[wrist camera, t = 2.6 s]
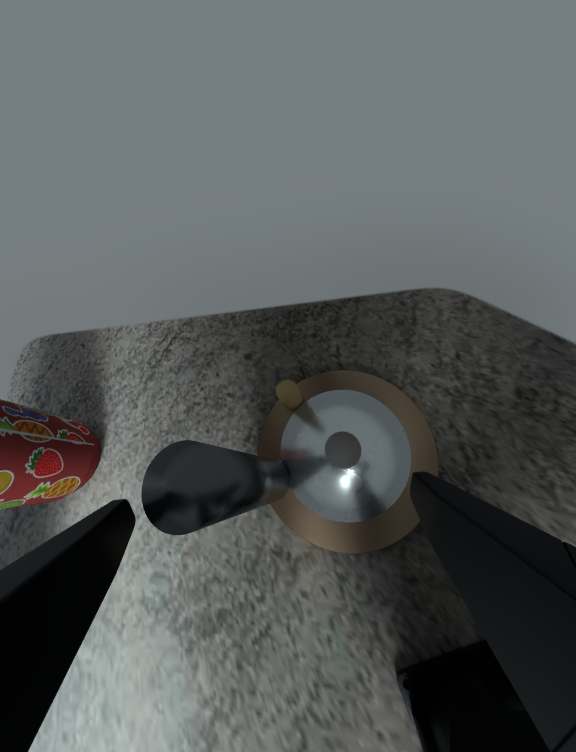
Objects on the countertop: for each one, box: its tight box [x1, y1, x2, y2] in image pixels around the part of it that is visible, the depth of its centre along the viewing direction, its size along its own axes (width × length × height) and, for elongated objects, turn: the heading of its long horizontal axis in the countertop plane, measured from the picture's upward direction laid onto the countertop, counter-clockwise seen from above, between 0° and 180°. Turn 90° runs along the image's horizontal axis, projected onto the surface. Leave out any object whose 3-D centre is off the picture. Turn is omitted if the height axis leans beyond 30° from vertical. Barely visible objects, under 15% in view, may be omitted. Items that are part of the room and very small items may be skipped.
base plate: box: [258, 370, 439, 554], centre depth 20 cm, size 13×13×4 cm
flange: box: [142, 390, 411, 535], centre depth 15 cm, size 11×9×13 cm
